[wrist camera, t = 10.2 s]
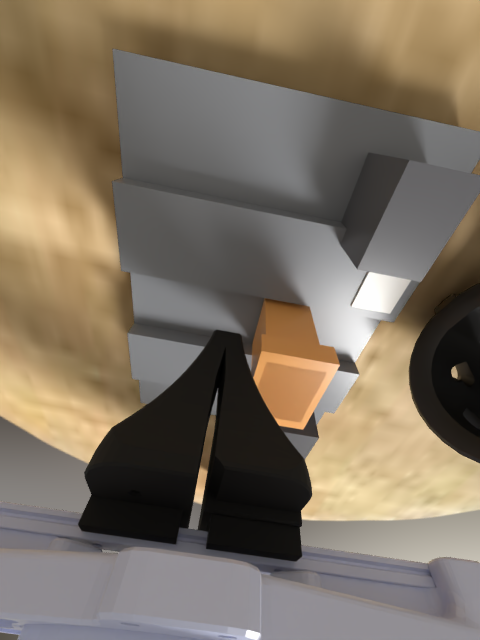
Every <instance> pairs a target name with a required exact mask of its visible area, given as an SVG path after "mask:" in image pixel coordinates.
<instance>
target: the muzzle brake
mask: <svg viewBox="0 0 480 640" xmlns="http://www.w3.org/2000/svg"><path fill="white" fill-rule="evenodd" d="M435 312H436V315H434V316H433V317H432V318H431V319H430V321H429V322H428V323H427V325H426V326H425V327H424V329H423V330H422V332H421V334H420V336H419V338H418V339H417V341H416V343H415V346H414V349H413V352H412V355H411V360H410V366H409V385H410V390H411V394H412V399H413V401H414V404H415V406H416V408H417V410H418V412H419V414H420V416H421V417H422V419H423V420H424V421H425V423H426V424H427V426H428V427H429V428H430V429H431V430H432V431H433V432H434V433H435V434H436V435H437V436H438V437H439V438H440V439H441V440H442V441H443V442H444V443H445V444H447V445H448V446H450V447H451V448H452V449H454V450H455V451H457V452H458V453H459V454H461V455H463V456H465V457H467V458H469V459H472V460H474V461H476V462H478V463H480V283H479V284H476V285H474V286H473V287H471V288H469V289H467V290H466V291H464V292H462V293H461V294H459V295H458V296H455V295H454V294H451V295H450V296H449V297H448V298H447V299H445V300H444V301H443V302H442V303H441V304H440V305H439V306H437V307H436V308H435ZM454 366H456V369H457V372H458V379H456V378H453V377H452V374H451V369H452V367H454Z"/></svg>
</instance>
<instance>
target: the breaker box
mask: <svg viewBox="0 0 480 640" xmlns="http://www.w3.org/2000/svg"><path fill="white" fill-rule="evenodd" d="M113 61H114V73H115V86H116V98H117V111H118V123H119V136H120V149H121V161H122V174H123V178H120V179H117V180H114V181H112V186H113V195H114V205H115V215H116V225H117V235H118V245H119V254H120V264H121V271H124V272H129V273H130V274H131V287H132V299H133V312H134V324H133V326H132V327H131V329H130V330H129V332H128V343H129V353H130V362H131V372H132V379H136V380H139V387H140V400H141V403H145V404H148V403H150V402H151V401H152V400H154V399H155V398H156V397H158V396H159V395H160V394H161V393H162V392H164V391H165V390H166V389H167V388H168V387H169V386H170V385H172V384H173V383H174V382H175V381H176V380H177V379H178V378H179V377H180V376H181V375H182V374H183V373H184V372H185V371H186V370H187V369H188V367H189V366H190V365H191V364H192V363H193V362H194V360H195V359H196V358H197V357H198V356H199V354H200V353H201V351H202V350H203V349H204V347H205V346H206V344H207V343H208V341H209V340H210V338H211V336H212V334H213V332H214V331H215V330H222V331H228V332H233V333H239V334H241V336H242V342H243V347H244V352H245V355H246V359H247V362H248V365H249V368H250V371H251V364H252V344H253V339H254V335H255V332H256V328H257V324H258V321H259V317H260V313H261V310H262V306H263V302H264V298H267V299H272V300H278V301H283V302H288V303H294V304H299V305H304V306H309V307H310V310H311V314H312V317H313V321H314V325H315V329H316V332H317V336H318V340H319V343H320V345H325V346H330V347H334V348H335V351H336V354H337V357H338V360H339V363H340V366H339V368H338V370H337V371H336V373H335V375H334V377H333V378H332V380H331V382H330V384H329V385H328V387H327V389H326V391H325V392H324V394H323V396H322V398H321V399H320V401H319V403H318V405H317V406H316V408H315V410H314V412H313V413H312V415H311V417H310V419H309V420H308V422H307V424H306V426H305V427H304V429H303V430H302V429H296V428H290V427H284V426H280V428H281V429H282V431H283V432H284V433H285V435H286V436H287V438H288V439H289V440H290V442H291V443H292V444H293V445H294V447H295V448H296V449H297V450H298V452H299V453H300V454H301V455H302V456H303V458H304V460H305V458H306V457H307V455H308V454H309V452H310V451H311V449H312V448H313V446H314V445H315V443H316V441H317V440H318V438H319V436H318V431H317V424H318V422H319V420H320V419H321V417H322V415H323V414H324V412H329V413H335V411H336V410H337V408H338V407H339V405H340V404H341V402H342V401H343V399H344V398H345V396H346V394H347V393H348V391H349V390H350V388H351V387H352V385H353V384H354V382H355V381H356V379H357V378H358V376H359V372H358V370H357V367H356V365H355V362H356V360H357V358H358V357H359V355H360V353H361V352H362V350H363V349H364V347H365V345H366V344H367V342H368V340H369V339H370V337H371V336H372V334H373V332H374V331H375V329H376V327H377V326H378V324H379V322H380V321H381V320H384V321H389V322H394V321H395V319H396V318H397V316H398V315H399V313H400V312H401V310H402V309H403V307H404V306H405V304H406V303H407V301H408V300H409V298H410V297H411V295H412V293H413V292H414V290H415V289H416V287H417V286H418V284H419V283H420V282H421V281H422V280H423V278H424V277H425V275H426V274H427V272H428V271H429V269H430V268H431V266H432V265H433V263H434V262H435V260H436V259H437V257H438V256H439V254H440V252H441V251H442V249H443V248H444V246H445V245H446V243H447V242H448V240H449V239H450V237H451V236H452V234H453V233H454V231H455V230H456V228H457V227H458V225H459V224H460V222H461V220H462V219H463V217H464V216H465V214H466V213H467V211H468V210H469V208H470V207H471V205H472V204H473V202H474V201H475V199H476V198H477V196H478V195H479V193H480V175H476V174H472V171H473V169H474V168H475V166H476V164H477V163H478V161H479V160H480V132H479V131H474V130H470V129H466V128H461V127H457V126H452V125H448V124H443V123H439V122H435V121H430V120H426V119H421V118H417V117H413V116H408V115H404V114H399V113H395V112H390V111H386V110H382V109H377V108H373V107H368V106H364V105H360V104H355V103H351V102H346V101H342V100H337V99H333V98H329V97H324V96H320V95H315V94H311V93H307V92H302V91H298V90H293V89H289V88H284V87H280V86H276V85H271V84H267V83H262V82H258V81H254V80H249V79H245V78H240V77H236V76H231V75H227V74H223V73H218V72H214V71H209V70H205V69H201V68H196V67H192V66H187V65H183V64H178V63H174V62H170V61H165V60H161V59H156V58H152V57H148V56H143V55H139V54H134V53H130V52H125V51H121V50H117V49H113ZM217 395H218V390H217V393H216V397H215V400H214V404H213V407H212V411H211V415H216V408H217Z"/></svg>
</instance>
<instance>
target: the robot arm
mask: <svg viewBox="0 0 480 640" xmlns="http://www.w3.org/2000/svg"><path fill="white" fill-rule="evenodd" d="M217 390H218V395H217V408H216V422H215V430H214V437H213V443H212V449H211V455H210V461H209V467H208V473H207V479H206V484H205V490H204V496H203V502H202V509H201V515H200V520H199V526H198V530H194V529H188V527H189V521H190V516H191V511H192V506H193V500H194V495H195V489H196V484H197V479H198V473H199V468H200V462H201V457H202V452H203V446H204V441H205V436H206V430H207V426H208V422H209V418H210V415H211V411H212V407H213V404H214V400H215V397H216V393H217ZM84 473H85V479H86V481H87V484H88V487H89V489H90V492H91V494H92V495H91V497H90V500H89V501H88V504H87V506H86V508H85V510H84V512H83V513H77V512H70V511H64V510H57V509H50V508H43V507H36V506H29V505H22V504H16V503H9V502H2V501H0V632H3V633H10V634H17V635H19V637H18V639H17V640H480V563H479V562H477V561H471V560H464V559H457V558H451V557H442V558H436V559H433V560H432V561H430V562H429V563H420V562H414V561H407V560H399V559H392V558H386V557H379V556H372V555H365V554H359V553H352V552H345V551H338V550H331V549H324V548H318V547H311V546H304V545H301V538H300V527H301V526H302V518H301V510H302V509H303V508H304V506H305V505H306V504H307V503H308V501H309V500H310V499H311V497H312V487H311V481H310V477H309V473H308V469H307V466H306V463H305V460H304V458H303V456H302V455H301V454H300V453H299V452H298V450H297V449H296V448H295V447H294V445H293V444H292V443H291V442H290V440H289V439H288V438H287V436H286V435H285V433H284V432H283V431H282V429H281V428H280V426H279V425H278V423H277V422H276V420H275V418H274V417H273V415H272V414H271V412H270V411H269V409H268V407H267V405H266V404H265V402H264V400H263V398H262V396H261V394H260V392H259V390H258V388H257V386H256V383H255V381H254V379H253V376H252V374H251V371H250V368H249V365H248V362H247V359H246V355H245V352H244V347H243V342H242V336H241V334H239V333H233V332H228V331H222V330H215V331H214V332H213V334H212V336H211V338H210V340H209V341H208V343H207V344H206V346H205V347H204V349H203V350H202V351H201V353H200V354H199V356H198V357H197V358H196V359H195V360H194V362H193V363H192V364H191V365H190V366H189V367H188V369H187V370H186V371H185V372H184V373H183V374H182V375H181V376H180V377H179V378H178V379H177V380H176V381H175V382H174V383H173V384H172V385H170V386H169V387H168V388H167V389H166V390H165V391H164V392H162V393H161V394H160V395H159V396H158V397H156V398H155V399H154V400H152V401H151V402H150V403H148V404H147V405H146V406H144V407H143V408H142V409H140V410H139V411H137V412H136V413H134V414H133V415H131V416H130V417H128V418H126V419H125V420H123V421H122V422H120V423H118V424H117V425H115V426H114V427H112V428H111V430H110V431H109V432H108V434H107V435H106V436H105V437H104V439H103V440H102V442H101V443H100V445H99V446H98V448H97V449H96V451H95V453H94V455H93V457H92V459H91V460H90V462H89V464H88V466H87V468H86V471H85V472H84ZM102 549H104V550H111V551H118V552H119V553H103V552H102Z"/></svg>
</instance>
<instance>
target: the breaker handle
mask: <svg viewBox="0 0 480 640" xmlns="http://www.w3.org/2000/svg"><path fill="white" fill-rule="evenodd" d="M339 366H340V363H339V360H338V357H337V354H336V351H335V348H334V347H330V346H325V345H320V343H319V340H318V336H317V332H316V329H315V325H314V321H313V317H312V314H311V310H310V307H309V306H304V305H299V304H294V303H288V302H283V301H278V300H272V299H267V298H264V302H263V306H262V310H261V313H260V317H259V321H258V324H257V328H256V332H255V335H254V339H253V344H252V364H251V374H252V376H253V379H254V381H255V383H256V386H257V388H258V390H259V392H260V394H261V396H262V398H263V400H264V402H265V404H266V405H267V407H268V409H269V411H270V412H271V414H272V415H273V417H274V418H275V420H276V422H277V423H278V425H279V426H284V427H290V428H296V429H302V430H303V429H304V427H305V426H306V424H307V422H308V420H309V419H310V417H311V415H312V413H313V412H314V410H315V408H316V406H317V405H318V403H319V401H320V399H321V398H322V396H323V394H324V392H325V391H326V389H327V387H328V385H329V384H330V382H331V380H332V378H333V377H334V375H335V373H336V371H337V370H338V368H339Z"/></svg>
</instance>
